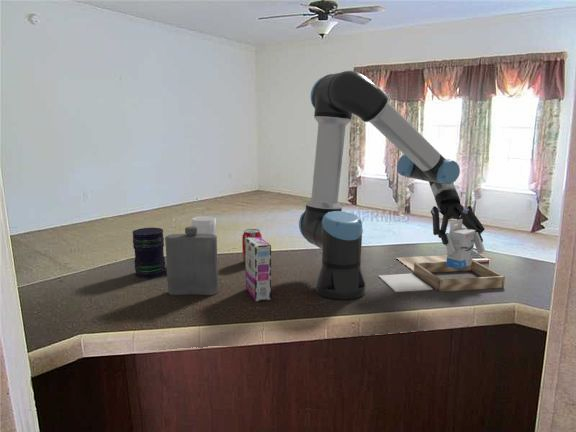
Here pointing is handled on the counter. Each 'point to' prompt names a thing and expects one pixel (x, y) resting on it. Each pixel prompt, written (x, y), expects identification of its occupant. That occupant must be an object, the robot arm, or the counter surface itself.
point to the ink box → (460, 245)
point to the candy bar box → (258, 268)
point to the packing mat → (405, 282)
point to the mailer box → (438, 264)
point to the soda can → (248, 234)
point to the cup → (204, 224)
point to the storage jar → (149, 253)
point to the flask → (192, 263)
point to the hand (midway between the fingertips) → (466, 252)
